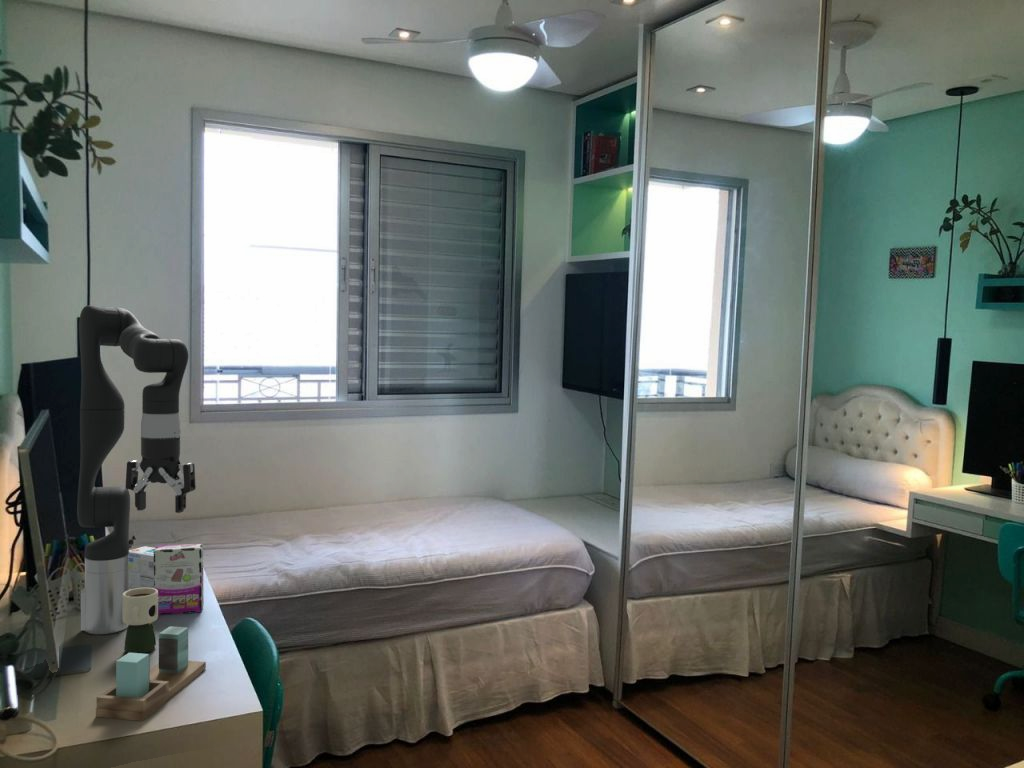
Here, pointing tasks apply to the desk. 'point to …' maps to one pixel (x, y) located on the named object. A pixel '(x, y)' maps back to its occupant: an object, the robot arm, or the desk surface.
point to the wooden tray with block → (155, 680)
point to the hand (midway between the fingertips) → (160, 511)
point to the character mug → (140, 618)
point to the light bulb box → (141, 567)
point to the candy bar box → (179, 578)
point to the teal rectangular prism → (133, 675)
